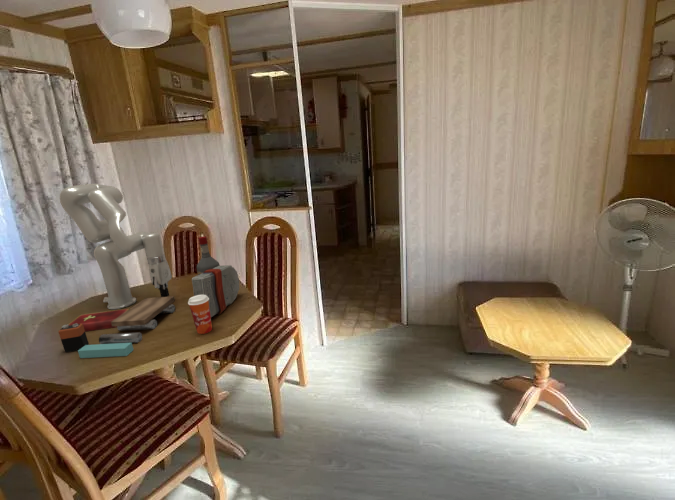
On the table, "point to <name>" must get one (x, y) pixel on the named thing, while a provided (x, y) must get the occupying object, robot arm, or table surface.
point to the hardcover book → (98, 319)
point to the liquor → (205, 257)
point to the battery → (73, 337)
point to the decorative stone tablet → (217, 287)
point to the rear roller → (168, 309)
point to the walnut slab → (143, 311)
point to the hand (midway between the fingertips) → (165, 296)
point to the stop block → (105, 350)
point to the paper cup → (201, 313)
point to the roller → (120, 338)
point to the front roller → (139, 326)
